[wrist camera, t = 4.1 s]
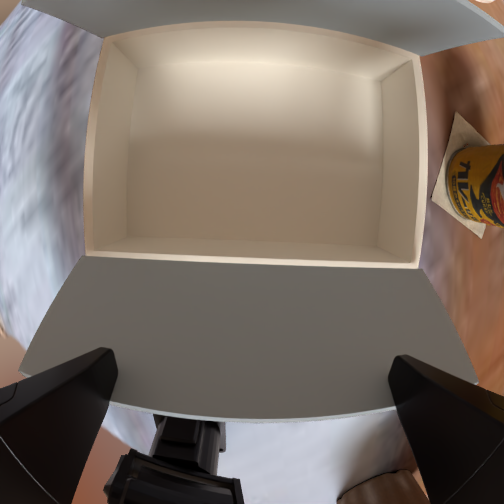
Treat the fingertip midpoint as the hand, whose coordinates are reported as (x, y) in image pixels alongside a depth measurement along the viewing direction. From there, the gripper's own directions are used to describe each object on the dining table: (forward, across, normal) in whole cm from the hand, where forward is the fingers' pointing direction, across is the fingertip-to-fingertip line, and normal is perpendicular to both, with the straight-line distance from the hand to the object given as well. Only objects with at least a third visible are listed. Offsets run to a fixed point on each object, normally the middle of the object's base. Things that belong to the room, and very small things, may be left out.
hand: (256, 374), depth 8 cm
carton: (+11, 0, -8) cm, 14 cm away
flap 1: (+2, 0, -13) cm, 13 cm away
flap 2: (+2, 0, 0) cm, 2 cm away
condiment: (+12, -18, -8) cm, 23 cm away
